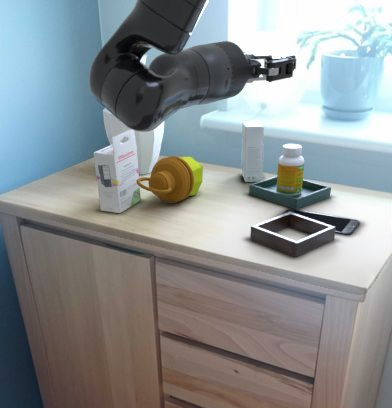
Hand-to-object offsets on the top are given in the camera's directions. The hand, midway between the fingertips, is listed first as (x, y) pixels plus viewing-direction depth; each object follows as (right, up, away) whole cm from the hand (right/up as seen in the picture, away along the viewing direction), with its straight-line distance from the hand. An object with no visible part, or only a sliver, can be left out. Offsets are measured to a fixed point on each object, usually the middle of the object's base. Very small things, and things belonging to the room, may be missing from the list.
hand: (270, 60), depth 90 cm
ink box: (-28, -17, +26) cm, 42 cm away
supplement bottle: (+8, -13, +29) cm, 33 cm away
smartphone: (+11, -23, +17) cm, 31 cm away
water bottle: (-16, -15, +29) cm, 36 cm away
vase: (-26, -3, +47) cm, 54 cm away
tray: (+8, -14, +30) cm, 34 cm away
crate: (+5, -27, +10) cm, 29 cm away
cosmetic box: (+1, -7, +40) cm, 41 cm away
